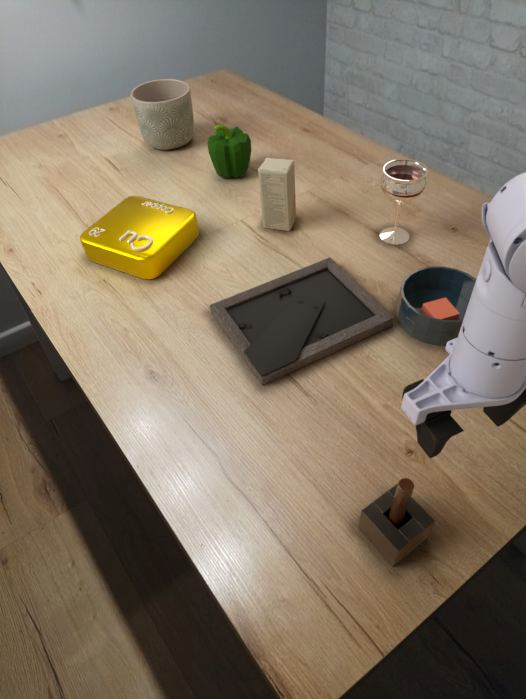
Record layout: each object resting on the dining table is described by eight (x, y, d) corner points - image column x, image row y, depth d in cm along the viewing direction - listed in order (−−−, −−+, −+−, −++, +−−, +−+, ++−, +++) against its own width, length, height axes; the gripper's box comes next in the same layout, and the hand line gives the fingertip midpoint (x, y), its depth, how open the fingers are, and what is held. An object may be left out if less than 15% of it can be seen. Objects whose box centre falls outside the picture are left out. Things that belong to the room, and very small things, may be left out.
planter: (133, 153, 112) (120, 101, 104) (153, 127, 120) (143, 77, 112) (187, 156, 110) (178, 103, 102) (204, 130, 118) (197, 79, 110)
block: (454, 332, 71) (460, 313, 68) (431, 338, 70) (436, 320, 67) (440, 315, 73) (445, 297, 70) (418, 321, 72) (422, 303, 70)
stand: (392, 500, 55) (397, 482, 52) (428, 537, 52) (435, 520, 49) (357, 527, 53) (361, 510, 51) (392, 567, 51) (398, 551, 48)
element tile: (204, 232, 90) (200, 208, 87) (153, 283, 82) (146, 259, 78) (136, 213, 96) (130, 190, 92) (81, 259, 87) (72, 235, 84)
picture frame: (262, 385, 67) (392, 325, 73) (261, 375, 65) (394, 315, 71) (211, 312, 77) (329, 265, 83) (209, 302, 75) (330, 255, 81)
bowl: (482, 298, 76) (491, 275, 72) (474, 353, 69) (483, 330, 65) (404, 283, 79) (408, 260, 75) (389, 334, 72) (393, 311, 68)
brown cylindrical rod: (399, 527, 53) (415, 480, 46) (396, 539, 52) (412, 494, 45) (386, 522, 54) (400, 475, 46) (383, 535, 53) (396, 488, 45)
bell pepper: (252, 161, 107) (249, 112, 99) (253, 182, 101) (249, 131, 94) (212, 164, 107) (206, 115, 100) (210, 184, 101) (203, 134, 94)
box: (296, 218, 92) (296, 159, 84) (289, 232, 89) (288, 173, 81) (268, 214, 93) (265, 156, 85) (261, 227, 91) (257, 169, 82)
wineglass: (378, 221, 90) (386, 156, 81) (417, 227, 88) (431, 161, 79) (370, 244, 86) (378, 177, 77) (411, 250, 84) (425, 183, 75)
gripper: (537, 272, 43) (492, 376, 53) (389, 330, 39) (371, 429, 49) (608, 326, 38) (544, 428, 48) (448, 396, 35) (415, 491, 45)
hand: (460, 432), depth 49 cm, fingers open, 7 cm apart
